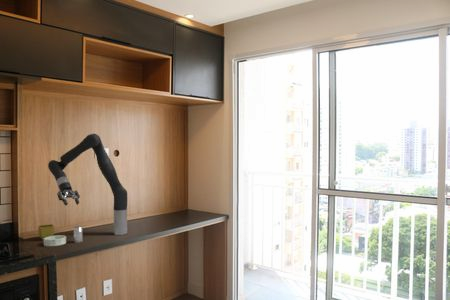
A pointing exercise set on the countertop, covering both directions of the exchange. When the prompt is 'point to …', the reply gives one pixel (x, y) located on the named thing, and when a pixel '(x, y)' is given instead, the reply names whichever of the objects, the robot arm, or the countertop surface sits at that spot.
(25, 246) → the countertop surface
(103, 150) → the robot arm
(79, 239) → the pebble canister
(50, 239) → the bowl
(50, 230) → the flower pot
